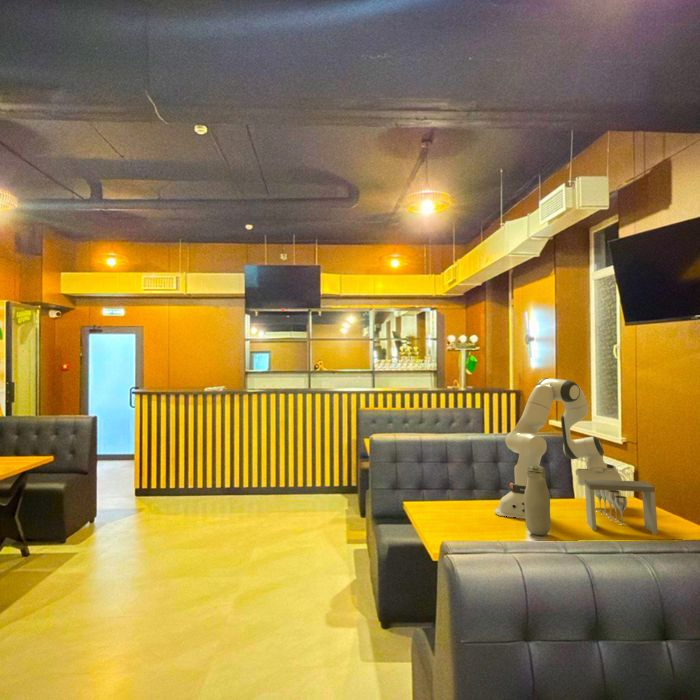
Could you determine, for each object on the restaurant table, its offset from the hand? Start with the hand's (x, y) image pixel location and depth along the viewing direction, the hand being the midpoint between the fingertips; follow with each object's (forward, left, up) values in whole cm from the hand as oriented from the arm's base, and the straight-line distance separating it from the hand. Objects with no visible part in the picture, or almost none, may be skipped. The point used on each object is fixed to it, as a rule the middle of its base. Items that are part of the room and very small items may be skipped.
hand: (602, 492), depth 232 cm
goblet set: (0, -17, -8) cm, 19 cm away
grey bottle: (-34, -52, -8) cm, 63 cm away
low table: (0, -35, -8) cm, 36 cm away
